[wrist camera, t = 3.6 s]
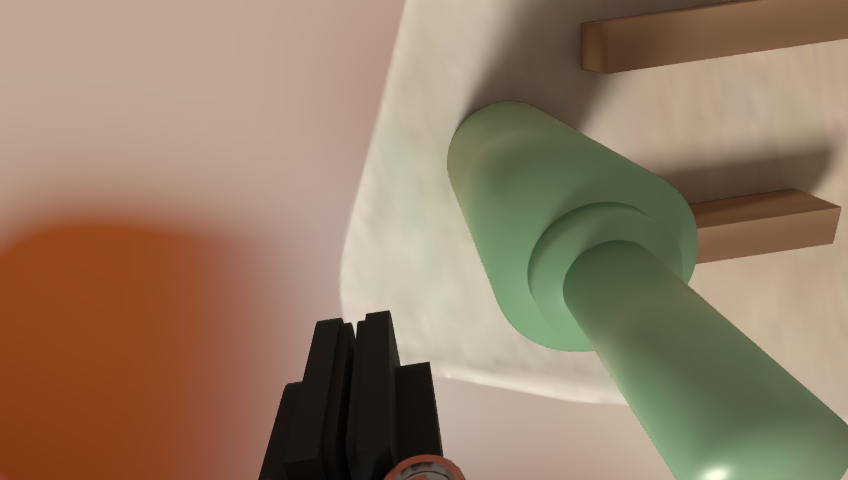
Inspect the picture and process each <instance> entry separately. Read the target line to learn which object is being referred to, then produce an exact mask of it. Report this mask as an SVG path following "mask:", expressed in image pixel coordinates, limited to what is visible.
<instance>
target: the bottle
mask: <svg viewBox="0 0 848 480" xmlns="http://www.w3.org/2000/svg"><path fill="white" fill-rule="evenodd" d="M447 170H448V175H449V179H450V182H451V185H452V187H453V190H454V192H455V195H456V197H457V200H458V202H459V205H460V208H461V210H462V213H463V215H464V218H465V220H466V223H467V225H468V228H469V231H470V233H471V236H472V238H473V241H474V243H475V246H476V248H477V251H478V254H479V256H480V259H481V261H482V264H483V266H484V269H485V271H486V274H487V276H488V279H489V282H490V284H491V287H492V289H493V292H494V294H495V297H496V299H497V302H498V305H499V307H500V308H501V310H502V312H503V314H504V316H505V317H506V319H507V320H508V321H509V323H510V324H511V325H512V326H513V327H514V328H515V329H516V330H517V331H518V332H519V333H521V334H522V335H523V336H525V337H526V338H528V339H529V340H531V341H533V342H535V343H537V344H539V345H542V346H545V347H547V348H551V349H555V350H560V351H568V352H585V351H595V352H596V354H597V355H598V357H599V358H600V360H601V362H602V363H603V365H604V366H605V368H606V369H607V371H608V373H609V374H610V376H611V377H612V379H613V381H614V382H615V384H616V385H617V387H618V388H619V390H620V392H621V393H622V395H623V396H624V398H625V400H626V401H627V403H628V404H629V406H630V407H631V409H632V410H633V412H634V413H635V415H636V417H637V418H638V420H639V421H640V423H641V425H642V426H643V428H644V430H645V431H646V433H647V434H648V436H649V437H650V439H651V441H652V442H653V444H654V445H655V447H656V449H657V450H658V452H659V453H660V455H661V456H662V458H663V460H664V461H665V462H666V464H667V466H668V467H669V469H670V471H671V472H672V474H673V475H674V477H675V479H676V480H840V479H841V478H842V477H843V475H844V474H845V472H846V470H847V469H848V425H847V424H846V423H845V422H844V421H843V420H842V419H841V418H840V417H839V416H838V415H837V414H835V413H834V412H833V411H832V410H831V409H830V408H829V407H827V406H826V405H825V404H824V403H823V402H822V401H821V400H819V399H818V398H817V397H816V396H815V395H814V394H812V393H811V392H810V391H809V390H808V389H807V388H806V387H804V386H803V385H802V384H801V383H800V382H799V381H798V380H796V379H795V378H794V377H793V376H792V375H791V374H789V373H788V372H787V371H786V370H785V369H784V368H783V367H781V366H780V365H779V364H778V363H777V362H776V361H775V360H773V359H772V358H771V357H770V356H769V355H768V354H766V353H765V352H764V351H763V350H762V349H761V348H760V347H758V346H757V345H756V344H755V343H754V342H753V341H751V340H750V339H749V338H748V337H747V336H746V335H745V334H743V333H742V332H741V331H740V330H739V329H738V328H737V327H735V326H734V325H733V324H732V323H731V322H730V321H728V320H727V319H726V318H725V317H724V316H723V315H722V314H720V313H719V312H718V311H717V310H716V309H715V308H714V307H712V306H711V305H710V304H709V303H708V302H707V301H705V300H704V299H703V298H702V297H701V296H700V295H699V294H697V293H696V292H695V291H694V290H693V289H692V288H691V287H689V286H688V282H689V280H690V278H691V276H692V273H693V270H694V267H695V264H696V259H697V253H698V232H697V226H696V222H695V218H694V215H693V213H692V211H691V209H690V206H689V205H688V203H687V202H686V200H685V199H684V197H683V196H682V195H681V194H680V193H679V192H678V191H677V189H676V188H675V187H674V186H672V185H671V184H670V183H668V182H667V181H666V180H664V179H662V178H661V177H659V176H657V175H655V174H654V173H652V172H650V171H648V170H646V169H645V168H643V167H641V166H639V165H637V164H636V163H634V162H632V161H630V160H629V159H627V158H625V157H623V156H621V155H620V154H618V153H616V152H614V151H612V150H611V149H609V148H607V147H605V146H603V145H602V144H600V143H598V142H596V141H595V140H593V139H591V138H589V137H587V136H586V135H584V134H582V133H580V132H578V131H577V130H575V129H573V128H571V127H570V126H568V125H566V124H564V123H562V122H561V121H559V120H557V119H555V118H553V117H552V116H550V115H548V114H546V113H544V112H543V111H541V110H539V109H537V108H535V107H533V106H532V105H529V104H526V103H522V102H517V101H502V102H497V103H492V104H490V105H487V106H485V107H483V108H481V109H479V110H477V111H476V112H474V113H473V114H471V115H470V116H469V117H468V118H467V119H466V120H465V121H464V122H463V123H462V124H461V125H460V127H459V128H458V130H457V131H456V133H455V134H454V136H453V138H452V141H451V144H450V146H449V151H448V157H447Z"/></svg>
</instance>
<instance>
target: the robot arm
mask: <svg viewBox="0 0 848 480" xmlns="http://www.w3.org/2000/svg"><path fill="white" fill-rule="evenodd" d="M258 480H466V479H465V477H464V475H463V474H462V472H461V470H460V468H459V467H458V466H456V465H455V464H454V463H453V462H452V461H451V460H448V459H446V458H444V457H443V450H442V443H441V435H440V428H439V421H438V414H437V407H436V400H435V393H434V387H433V380H432V374H431V368H430V362H424V363H417V364H411V365H405V366H401V365H400V360H399V355H398V350H397V344H396V339H395V334H394V328H393V323H392V318H391V313H390V311H389V310H388V311H381V312H375V313H368V314H366V318H365V320H364V321H358V323H357V332H356V338H355V334H354V329H353V326H352V323H344V322H343V320H342V318H336V319H329V320H323V321H318V322H317V323H316V327H315V331H314V335H313V339H312V343H311V348H310V352H309V356H308V361H307V364H306V368H305V373H304V377H303V381H302V382H295V383H288V384H287V385H286V386H285V389H284V391H283V395H282V398H281V402H280V405H279V409H278V412H277V416H276V419H275V423H274V427H273V430H272V433H271V437H270V440H269V444H268V447H267V451H266V454H265V458H264V461H263V465H262V468H261V472H260V476H259V479H258Z"/></svg>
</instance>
